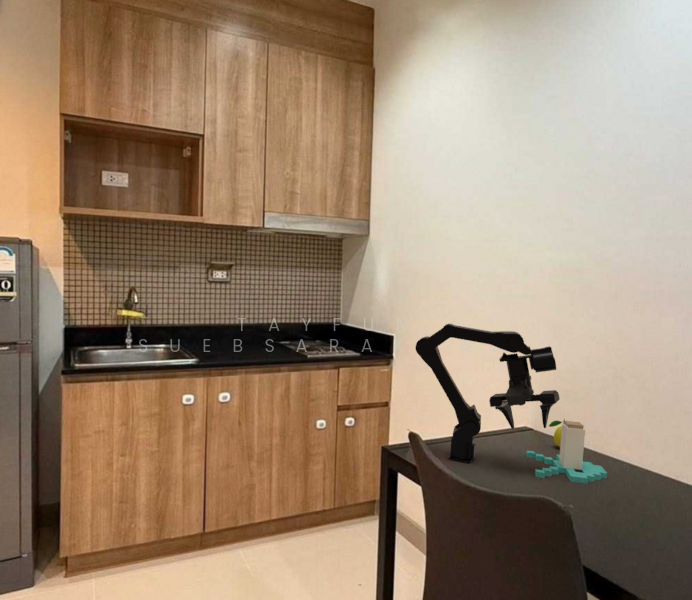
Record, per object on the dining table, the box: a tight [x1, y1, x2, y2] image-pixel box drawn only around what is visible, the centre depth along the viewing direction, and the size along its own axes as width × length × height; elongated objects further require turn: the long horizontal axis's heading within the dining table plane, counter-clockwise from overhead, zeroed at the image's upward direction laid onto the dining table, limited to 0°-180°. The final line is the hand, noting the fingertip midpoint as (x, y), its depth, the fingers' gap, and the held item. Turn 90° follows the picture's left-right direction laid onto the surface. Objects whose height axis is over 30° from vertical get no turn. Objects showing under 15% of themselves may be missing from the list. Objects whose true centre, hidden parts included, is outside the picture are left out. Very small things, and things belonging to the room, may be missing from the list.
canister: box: [559, 420, 586, 470], centre depth 153 cm, size 5×5×12 cm
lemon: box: [548, 418, 566, 448], centre depth 175 cm, size 7×6×10 cm
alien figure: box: [525, 450, 608, 485], centre depth 154 cm, size 20×2×20 cm
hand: (528, 428), depth 153 cm, fingers open, 9 cm apart
